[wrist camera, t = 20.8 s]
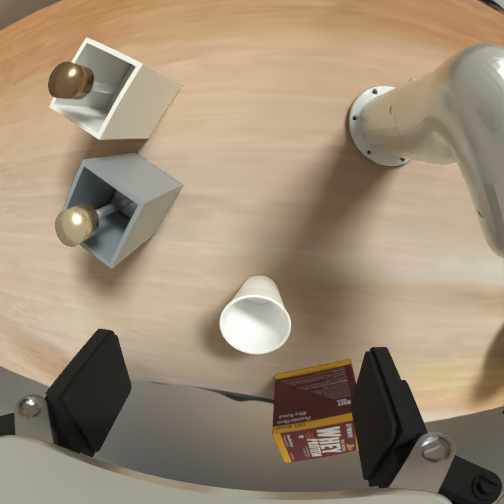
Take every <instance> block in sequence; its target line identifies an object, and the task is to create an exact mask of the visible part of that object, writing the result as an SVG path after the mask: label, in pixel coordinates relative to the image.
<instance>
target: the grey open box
mask: <svg viewBox="0 0 504 504" xmlns="http://www.w3.org/2000/svg"><path fill="white" fill-rule="evenodd" d="M182 186H183V184H182V183H180V182H179V181H177V180H176V179H174V178H173V177H171V176H170V175H168V174H167V173H165V172H164V171H162V170H161V169H159V168H158V167H156V166H155V165H153V164H152V163H150V162H149V161H147V160H146V159H144V158H143V157H141V156H140V155H138V154H137V153H135V152H134V153H125V154H118V155H110V156H103V157H96V158H90V159H83V160H82V162H81V165H80V167H79V169H78V172H77V174H76V176H75V179H74V181H73V184H72V186H71V189H70V191H69V194H68V197H67V199H66V202H65V205H64V207H63V210H62V211H64V210H67V209H69V208H72V207H74V206H77V205H79V204H82V203H86V204H89V205H91V206H92V207H93V208H94V209H95V210H97V209H99V208H102V207H104V206H106V205H109V204H110V203H111V201H112V198H113V196H114V194H115V192H116V190H118V191H119V192H121V193H122V194H124V195H125V196H127V197H128V198H129V199H131V200H132V201H134V202H135V203H137V204H138V206H137V208H136V210H135V212H134V214H133V216H132V218H130V217H129V216H127V215H126V214H124V213H123V212H122V211H120V210H117V211H115V212H113V213H111V214H109V215H107V216H104V217H102V218H100V219H99V228H98V231H97V232H96V234H95V235H93V236H92V237H90V238H88V239H86V240H85V241H83V242H81V243H80V245H81V246H82V247H83V248H85V249H86V250H87V251H89V252H90V253H91V254H92V255H94V256H95V257H96V258H98V259H99V260H100V261H102V262H103V263H104V264H106V265H107V266H108V267H110V268H111V269H113V268H114V267H115V266H116V265H117V264H119V263H120V262H121V261H122V260H123V259H125V258H126V257H127V256H128V255H130V254H131V253H132V252H133V251H134V250H136V249H137V248H138V247H139V246H141V245H142V244H143V243H144V242H146V241H147V240H148V239H149V238H151V237H152V236H153V235H154V234H155V232H156V231H157V229H158V227H159V225H160V223H161V222H162V220H163V218H164V217H165V215H166V213H167V211H168V210H169V208H170V206H171V205H172V203H173V201H174V200H175V198H176V196H177V195H178V193H179V191H180V190H181V188H182Z"/></svg>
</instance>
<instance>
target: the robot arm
mask: <svg viewBox="0 0 504 504" xmlns="http://www.w3.org/2000/svg"><path fill="white" fill-rule="evenodd" d="M372 91H374V92H375V94H373V93H372ZM353 117H355V120H353ZM349 130H350V134H351V137H352V140H353V141H354V143H355V145H356V147H357V148H358V149H359V151H360V152H361V153H362V154H363V155H364V156H365V157H367V158H368V159H370V160H371V161H373V162H375V163H378V164H381V165H385V166H398V165H402V164H405V163H407V162H408V161H410V160H411V159H412V160H417V161H423V162H428V163H433V164H440V165H446V164H452V163H455V162H457V163H458V165H459V168H460V170H461V173H462V175H463V177H464V178H465V181H466V184H467V186H468V189H469V192H470V195H471V198H472V201H473V203H474V207H475V210H476V213H477V216H478V219H479V222H480V225H481V229H482V232H483V234H484V237H485V239H486V242H487V243H488V245H489V247H490V248H491V249H492V251H493V252H494V253H496V254H497V255H498V256H500V257H502V258H504V47H501V46H499V45H495V44H488V43H484V44H477V45H473V46H470V47H467V48H465V49H463V50H461V51H459V52H457V53H456V54H454V55H453V56H451V57H450V58H449V59H447V60H446V61H445V62H444V63H443V64H442V65H440V66H439V67H438V68H437V69H436V70H434V71H433V72H431V73H429V74H427V75H425V76H423V77H421V78H419V79H416V80H414V79H410V80H409V82H408V83H407V84H404V85H402V86H399V87H397V88H395V87H391V86H382V85H381V86H375V87H372V88H369V89H367V90H365V91H364V92H362V93H361V94H360V95H359V96H358V97H357V98H356V100H355V101H354V102H353V105H352V107H351V109H350V113H349ZM367 151H369V154H367ZM400 158H402V159H401V160H400ZM130 391H131V382H130V379H129V375H128V372H127V369H126V365H125V362H124V358H123V355H122V351H121V347H120V343H119V339H118V336H117V335H115V334H114V332H113V331H112V330H106V329H98V330H97V331H96V332H95V333H94V334H93V336H92V337H91V338H90V339H89V340H88V341H87V343H86V344H85V345H84V346H83V347H82V349H81V350H80V351H79V352H78V353H77V355H76V356H75V357H74V358H73V359H72V361H71V362H70V363H69V364H68V366H67V367H66V368H65V369H64V370H63V372H62V373H61V374H60V375H59V377H58V378H57V379H56V380H55V382H54V383H53V384H52V385H51V387H50V388H49V389H48V391H47V392H46V394H47V396H46V397H45V398H43V397H42V396H40V395H36V394H30V395H26V396H24V397H23V398H21V399H20V400H19V401H18V402H17V403H16V405H15V409H14V413H11V414H7V415H3V416H0V504H504V493H503V492H502V491H501V490H502V483H501V481H500V478H499V477H498V476H497V475H496V474H495V473H493V472H491V471H489V470H487V469H484V468H482V467H480V466H478V465H475V464H473V463H471V462H469V461H466V460H464V459H462V458H460V457H458V456H456V455H455V446H454V444H453V442H452V440H450V438H449V437H448V436H446V435H444V434H441V433H438V432H431V433H428V432H427V430H426V427H425V425H424V422H423V419H422V417H421V414H420V412H419V409H418V407H417V405H416V402H415V400H414V397H413V395H412V392H411V390H410V388H409V385H408V383H407V382H406V381H405V380H401V378H400V376H399V374H398V371H397V369H396V367H395V364H394V362H393V360H392V357H391V355H390V353H389V350H388V349H387V347H372V348H371V349H370V351H367V352H366V353H365V355H364V359H363V363H362V367H361V370H360V374H359V377H358V381H357V384H356V387H355V391H354V394H353V397H352V400H351V413H352V418H353V423H354V428H355V433H356V439H357V444H358V450H359V455H360V461H361V467H362V472H363V478H364V480H368V482H369V487H372V486H379V488H376V489H362V490H349V491H334V492H303V493H302V492H299V493H298V492H295V493H294V492H293V493H291V492H260V491H247V490H235V489H225V488H218V487H210V486H203V485H196V484H191V483H185V482H180V481H174V480H170V479H165V478H161V477H156V476H152V475H148V474H144V473H140V472H136V471H132V470H129V469H125V468H121V467H118V466H115V465H112V464H109V463H106V462H102V461H99V460H97V459H94V458H91V457H93V456H94V454H95V452H98V451H99V450H100V449H101V446H102V444H103V443H104V441H105V439H106V437H107V435H108V433H109V431H110V429H111V427H112V425H113V424H114V422H115V420H116V418H117V416H118V414H119V412H120V410H121V408H122V407H123V405H124V403H125V401H126V399H127V397H128V395H129V393H130ZM80 453H82V454H85V455H87V456H85V455H82V454H80ZM88 456H90V457H88Z"/></svg>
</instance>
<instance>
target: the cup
mask: <svg viewBox="0 0 504 504" xmlns="http://www.w3.org/2000/svg"><path fill="white" fill-rule="evenodd" d="M219 325H220V331H221V333H222V335H223V337H224V338H225V340H226V341H227V342H228V343H229V344H230V345H231V346H232V347H234V348H235V349H237V350H239V351H241V352H245V353H248V354H265V353H269V352H272V351H274V350H276V349H278V348H279V347H281V346H282V345H283V344H284V343H285V341H286V340H287V339H288V337H289V334H290V331H291V320H290V317H289V315H288V313H287V311H286V310H285V307H284V305H283V302H282V299H281V296H280V293H279V291H278V288H277V285H276V284H275V282H274V281H273V280H271V279H270V278H268V277H266V276H261V275H257V276H252V277H250V278H249V279H247V280H246V281H245V282H244V283H243V285H242V286H241V288H240V289H239V291H238V292H237V293H236V295H235V296H234V298H233V299H232V300H231V302H230V303H228V304H227V306H226V307H225V308H224V309H223V311H222V313H221V316H220V322H219Z"/></svg>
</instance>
